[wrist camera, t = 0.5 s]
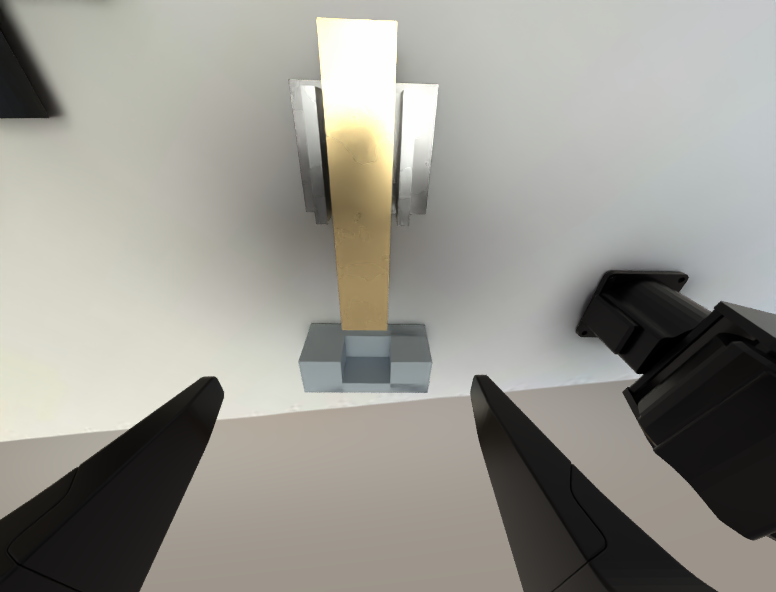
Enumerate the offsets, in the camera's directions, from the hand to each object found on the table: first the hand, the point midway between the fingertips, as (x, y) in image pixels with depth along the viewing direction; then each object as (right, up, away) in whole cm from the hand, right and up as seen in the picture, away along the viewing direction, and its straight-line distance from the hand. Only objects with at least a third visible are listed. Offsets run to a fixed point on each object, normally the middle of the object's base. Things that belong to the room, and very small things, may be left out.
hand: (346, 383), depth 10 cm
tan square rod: (0, +9, +7) cm, 11 cm away
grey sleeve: (0, +12, +8) cm, 14 cm away
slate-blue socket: (0, -1, +16) cm, 16 cm away
